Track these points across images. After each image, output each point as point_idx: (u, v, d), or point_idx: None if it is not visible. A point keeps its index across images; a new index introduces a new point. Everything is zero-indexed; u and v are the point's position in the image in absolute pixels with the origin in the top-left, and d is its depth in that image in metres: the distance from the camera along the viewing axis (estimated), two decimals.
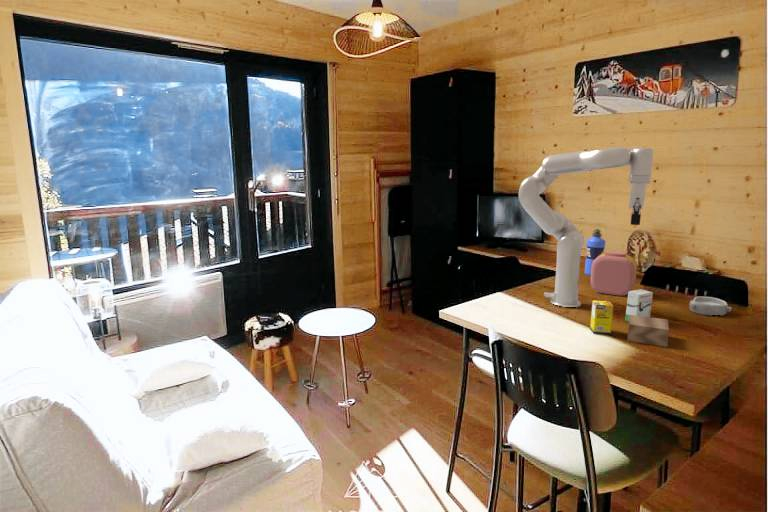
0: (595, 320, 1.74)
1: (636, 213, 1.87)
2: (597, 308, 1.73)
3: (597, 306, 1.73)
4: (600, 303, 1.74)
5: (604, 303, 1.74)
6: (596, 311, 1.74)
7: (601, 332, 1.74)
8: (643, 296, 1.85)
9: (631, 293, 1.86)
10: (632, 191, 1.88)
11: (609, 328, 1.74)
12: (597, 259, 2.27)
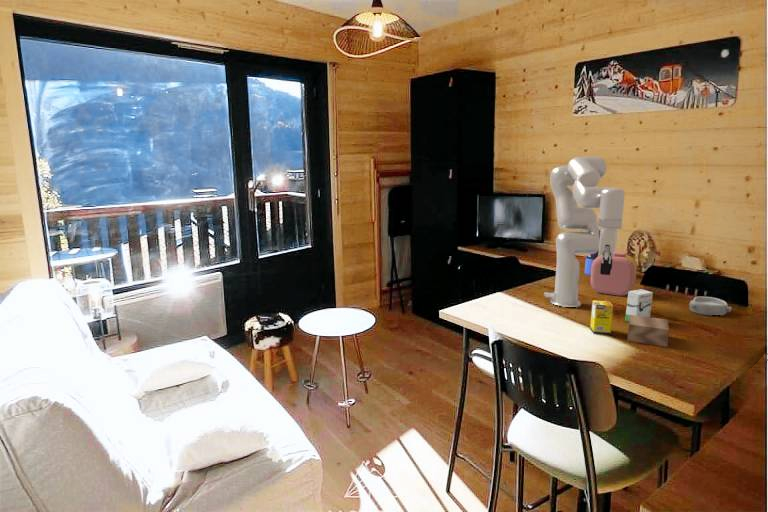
0: (595, 320, 1.74)
1: (606, 262, 1.66)
2: (597, 308, 1.73)
3: (597, 306, 1.73)
4: (600, 303, 1.74)
5: (604, 303, 1.74)
6: (596, 311, 1.74)
7: (601, 332, 1.74)
8: (643, 296, 1.85)
9: (631, 293, 1.86)
10: (601, 237, 1.67)
11: (609, 328, 1.74)
12: (597, 259, 2.27)
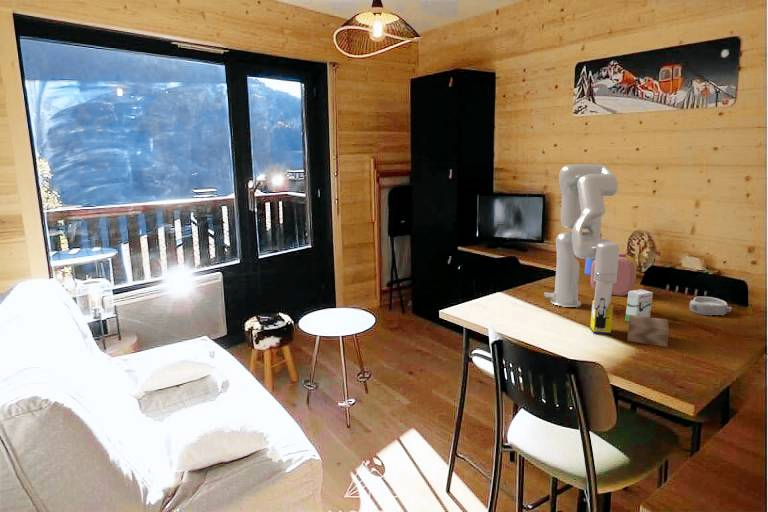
0: (595, 320, 1.74)
1: (601, 316, 1.71)
2: (597, 308, 1.73)
3: None
4: None
5: None
6: (596, 311, 1.74)
7: (601, 332, 1.74)
8: (643, 296, 1.85)
9: (631, 293, 1.86)
10: (596, 290, 1.71)
11: (609, 328, 1.74)
12: None
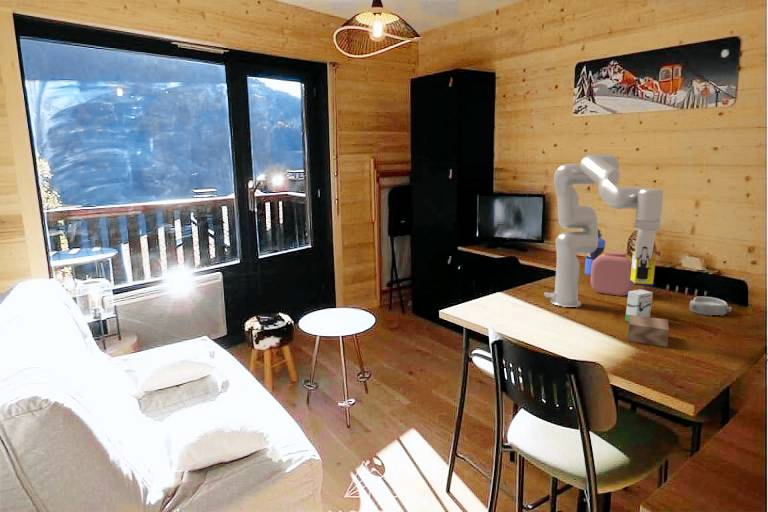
0: (636, 271, 1.65)
1: (643, 266, 1.62)
2: None
3: None
4: None
5: None
6: (637, 261, 1.65)
7: (643, 284, 1.66)
8: (643, 296, 1.85)
9: (631, 293, 1.86)
10: (638, 239, 1.62)
11: (651, 279, 1.65)
12: (597, 259, 2.27)
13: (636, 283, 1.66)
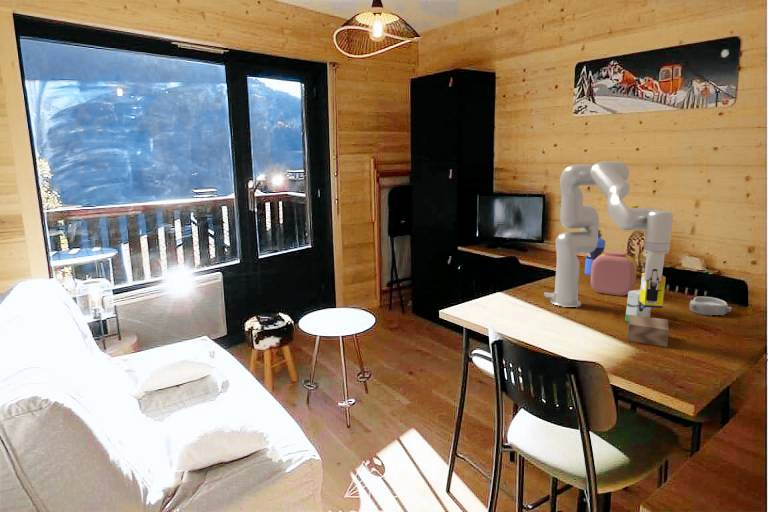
0: (646, 293, 1.65)
1: (653, 288, 1.62)
2: (648, 280, 1.64)
3: None
4: None
5: None
6: (647, 283, 1.64)
7: (652, 305, 1.65)
8: None
9: (631, 293, 1.86)
10: (648, 261, 1.62)
11: (661, 301, 1.65)
12: (597, 259, 2.27)
13: (646, 305, 1.66)
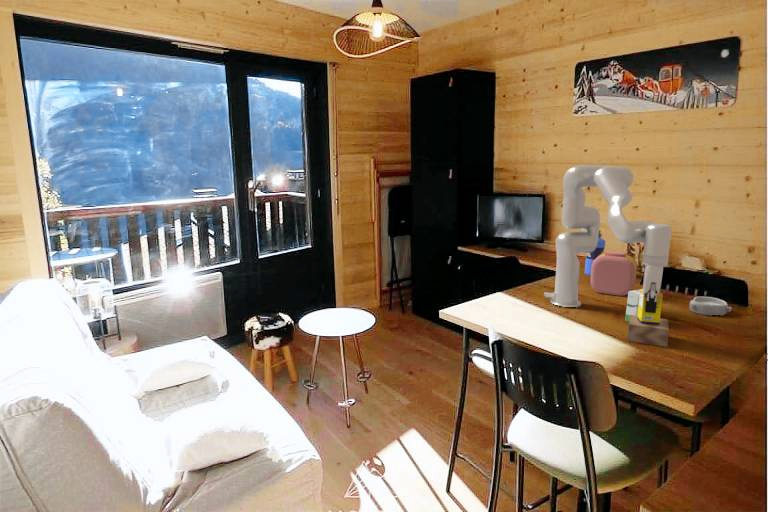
0: (643, 309, 1.67)
1: (652, 300, 1.62)
2: (645, 297, 1.66)
3: (645, 294, 1.66)
4: None
5: None
6: (644, 300, 1.66)
7: (649, 322, 1.67)
8: None
9: (631, 293, 1.86)
10: (647, 274, 1.63)
11: (658, 318, 1.66)
12: (597, 259, 2.27)
13: (642, 321, 1.68)
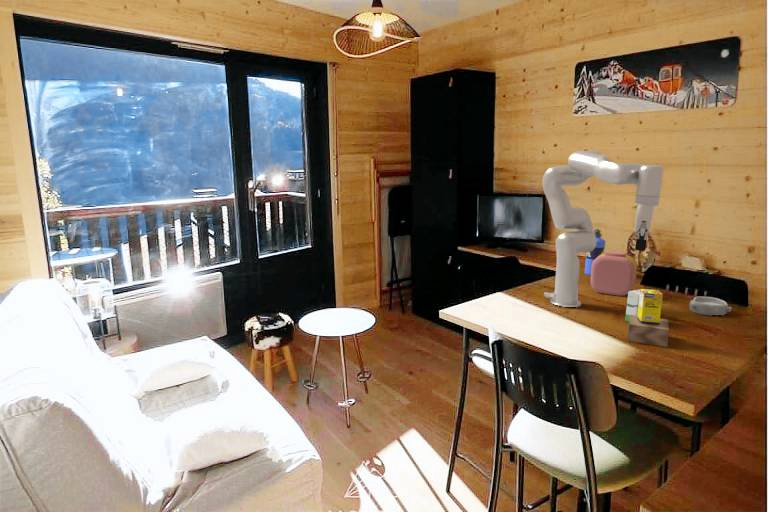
0: (643, 309, 1.67)
1: (641, 238, 1.69)
2: (645, 297, 1.66)
3: (645, 294, 1.66)
4: (648, 291, 1.67)
5: (653, 292, 1.67)
6: (644, 300, 1.66)
7: (649, 322, 1.67)
8: None
9: (631, 293, 1.86)
10: (638, 213, 1.69)
11: (658, 318, 1.66)
12: (597, 259, 2.27)
13: (642, 321, 1.68)
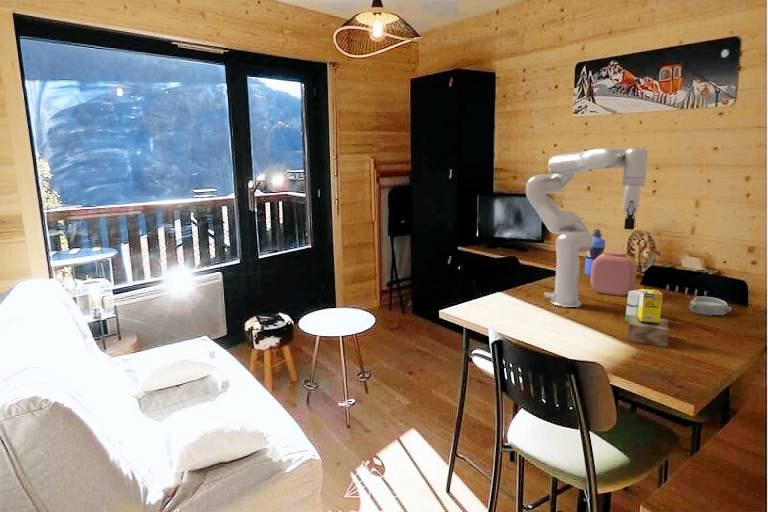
0: (643, 309, 1.67)
1: (630, 217, 1.78)
2: (645, 297, 1.66)
3: (645, 294, 1.66)
4: (648, 291, 1.67)
5: (653, 292, 1.67)
6: (644, 300, 1.66)
7: (649, 322, 1.67)
8: None
9: (631, 293, 1.86)
10: (626, 194, 1.79)
11: (658, 318, 1.66)
12: (597, 259, 2.27)
13: (642, 321, 1.68)
